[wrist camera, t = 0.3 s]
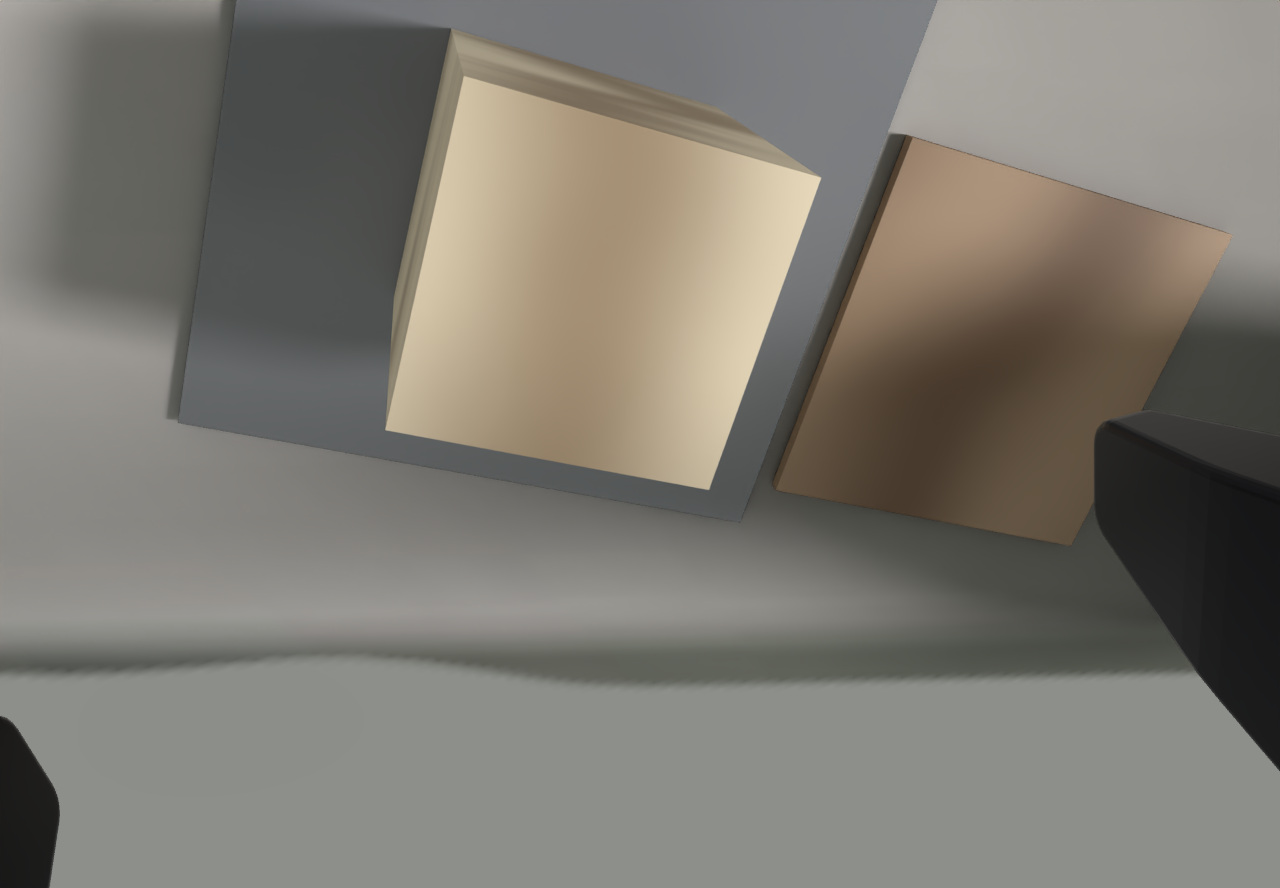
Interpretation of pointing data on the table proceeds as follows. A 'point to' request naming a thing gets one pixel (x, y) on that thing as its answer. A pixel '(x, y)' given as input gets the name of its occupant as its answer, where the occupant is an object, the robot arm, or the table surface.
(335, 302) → the tile
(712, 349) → the birch block
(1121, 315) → the pad
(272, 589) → the table surface
